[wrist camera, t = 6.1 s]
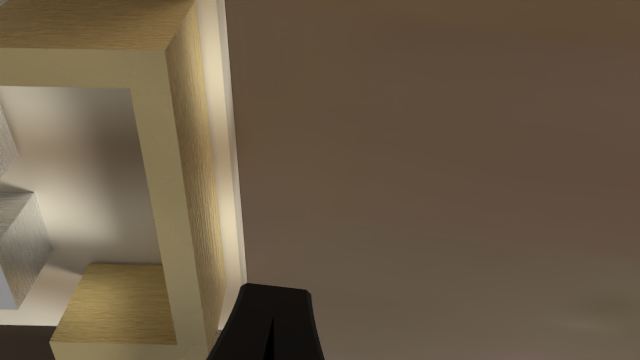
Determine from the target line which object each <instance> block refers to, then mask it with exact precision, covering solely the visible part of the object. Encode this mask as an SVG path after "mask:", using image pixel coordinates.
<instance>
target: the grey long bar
mask: <svg viewBox="0 0 640 360" xmlns="http://www.w3.org/2000/svg"><path fill="white" fill-rule="evenodd" d="M52 251H53V249H52V246H51V243H50V239H49V236H48V233H47V230H46V227H45V224H44V221H43V217H42V214H41V211H40V208H39V205H38V202H37V199H36V195H35V192H2V191H0V310H18V309H19V307H20V306H21V304H22V302H23V301H24V299H25V297H26V295H27V294H28V292H29V290H30V289H31V287H32V285H33V284H34V282H35V280H36V278H37V277H38V275H39V273H40V272H41V270H42V268H43V267H44V265H45V263H46V261H47V260H48V258H49V256H50V255H51V253H52Z"/></svg>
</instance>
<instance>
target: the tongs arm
mask: <svg viewBox="0 0 640 360" xmlns="http://www.w3.org/2000/svg"><path fill="white" fill-rule="evenodd" d="M18 157H19V155H18V152H17V149H16V146H15V143H14V141H13V138H12V135H11V132H10V130H9V127H8V124H7V121H6V118H5V116H4V113H3V110H2V107H1V104H0V178H1V177H2V176H3V175H4V174H5V172H6V171H7V170H8V169H9V167H10V166H11V165H12V164H13V163H14V161H15V160H16V159H17V158H18Z"/></svg>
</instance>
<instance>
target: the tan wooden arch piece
mask: <svg viewBox="0 0 640 360" xmlns="http://www.w3.org/2000/svg"><path fill="white" fill-rule="evenodd" d="M0 86H25V87H82V88H130V92H131V97H132V103H133V108H134V113H135V119H136V124H137V129H138V135H139V140H140V146H141V151H142V156H143V162H144V167H145V173H146V178H147V183H148V189H149V194H150V200H151V205H152V210H153V216H154V221H155V226H156V232H157V237H158V243H159V248H160V253H161V259H162V264H163V265H125V264H88V266H87V268H86V270H85V272H84V274H83V276H82V278H81V280H80V282H79V284H78V286H77V288H76V290H75V291H74V293H73V295H72V297H71V299H70V301H69V303H68V305H67V307H66V309H65V311H64V313H63V315H62V317H61V319H60V321H59V323H58V325H57V327H56V329H55V331H54V333H53V335H52V337H51V339H50V341H49V343H50V346H51V349H52V351H53V354H54V357H55V360H206V359H207V357H208V355H209V353H210V352H211V350H212V348H213V346H214V344H215V339H216V334H217V330H218V325H219V320H220V315H221V311H222V306H223V301H224V296H225V292H226V287H227V282H226V273H225V264H224V254H223V245H222V236H221V227H220V217H219V208H218V199H217V189H216V180H215V171H214V162H213V152H212V143H211V134H210V124H209V115H208V106H207V96H206V87H205V78H204V69H203V59H202V50H201V41H200V31H199V22H198V13H197V4H196V0H8V1H7V2H5V3H4V4H2V5H1V6H0Z"/></svg>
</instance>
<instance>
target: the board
mask: <svg viewBox="0 0 640 360" xmlns="http://www.w3.org/2000/svg"><path fill="white" fill-rule="evenodd" d="M7 1H8V0H0V6H1V5H2V4H4V3H5V2H7ZM196 4H197V13H198V22H199V31H200V41H201V50H202V59H203V69H204V78H205V87H206V96H207V106H208V115H209V124H210V134H211V143H212V152H213V162H214V171H215V180H216V189H217V199H218V208H219V217H220V227H221V236H222V245H223V254H224V264H225V273H226V282H227V287H226V292H225V296H224V301H223V306H222V311H221V315H220V320H219V325H218V330H223V328H224V326H225V324H226V322H227V320H228V318H229V316H230V314H231V311H232V309H233V307H234V304H235V302H236V299H237V296H238V293H239V290H240V287H241V286H242V285H244V284H246V283H247V274H246V262H245V249H244V237H243V225H242V212H241V200H240V188H239V175H238V163H237V151H236V138H235V126H234V114H233V101H232V89H231V77H230V64H229V52H228V40H227V27H226V15H225V3H224V0H196ZM0 104H1V107H2V110H3V113H4V116H5V118H6V121H7V124H8V127H9V130H10V132H11V135H12V138H13V141H14V143H15V146H16V149H17V152H18V155H19V157H18V158H17V159H16V160H15V161H14V163H13V164H12V165H11V166H10V167H9V169H8V170H7V171H6V172H5V174H4V175H3V176H2V177H1V178H0V191H2V192H35V195H36V199H37V202H38V205H39V208H40V211H41V214H42V217H43V221H44V224H45V227H46V230H47V233H48V236H49V239H50V243H51V246H52V249H53V251H52V253H51V255H50V256H49V258H48V260H47V261H46V263H45V265H44V267H43V268H42V270H41V272H40V273H39V275H38V277H37V278H36V280H35V282H34V284H33V285H32V287H31V289H30V290H29V292H28V294H27V295H26V297H25V299H24V301H23V302H22V304H21V306H20V307H19V309H18V310H0V325H37V326H57V325H58V323H59V321H60V319H61V317H62V315H63V313H64V311H65V309H66V307H67V305H68V303H69V301H70V299H71V297H72V295H73V293H74V291H75V290H76V288H77V286H78V284H79V282H80V280H81V278H82V276H83V274H84V272H85V270H86V268H87V266H88V264H125V265H163V264H162V259H161V253H160V248H159V243H158V237H157V232H156V226H155V221H154V216H153V210H152V205H151V200H150V194H149V189H148V183H147V178H146V173H145V167H144V162H143V156H142V151H141V146H140V140H139V135H138V129H137V124H136V119H135V113H134V108H133V103H132V97H131V92H130V88H82V87H25V86H0Z"/></svg>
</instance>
